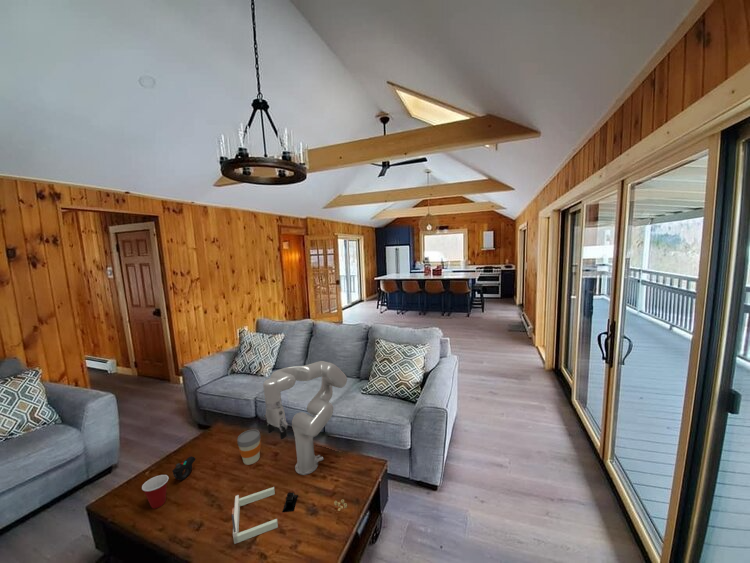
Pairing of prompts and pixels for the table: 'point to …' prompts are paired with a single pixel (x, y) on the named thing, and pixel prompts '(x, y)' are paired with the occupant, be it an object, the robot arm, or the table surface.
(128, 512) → the table surface
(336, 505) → the dice set
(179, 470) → the controller
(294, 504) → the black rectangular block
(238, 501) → the frame
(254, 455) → the reusable coffee cup
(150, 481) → the plastic cup
